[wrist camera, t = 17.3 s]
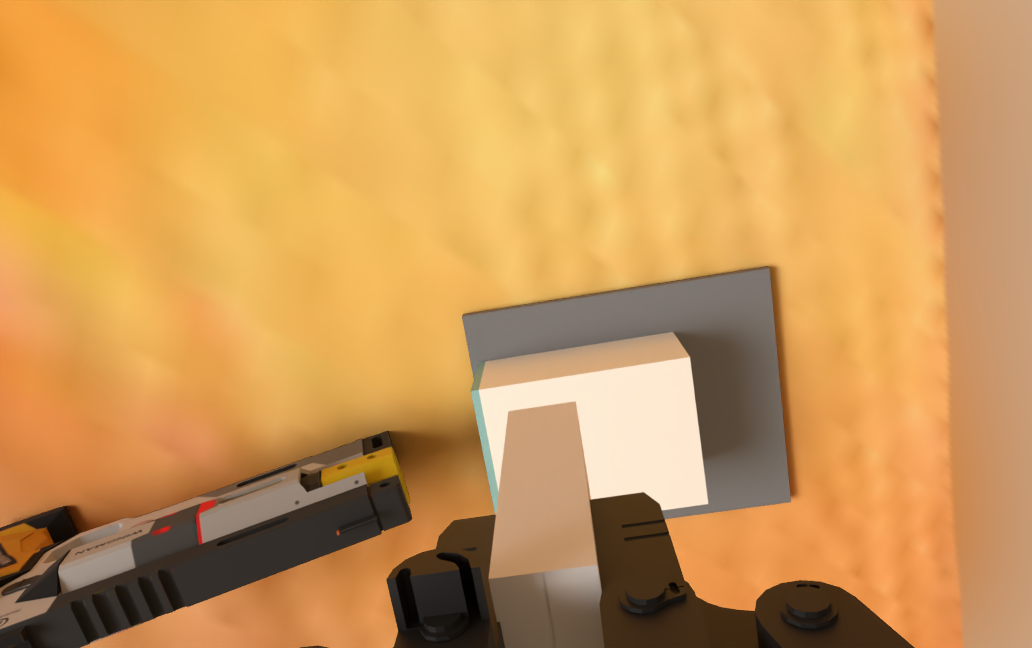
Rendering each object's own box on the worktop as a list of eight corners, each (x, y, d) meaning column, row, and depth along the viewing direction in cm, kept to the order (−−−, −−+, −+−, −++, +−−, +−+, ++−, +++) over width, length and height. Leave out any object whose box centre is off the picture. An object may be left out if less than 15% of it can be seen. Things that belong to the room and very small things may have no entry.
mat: (463, 314, 43) (462, 316, 43) (766, 266, 42) (769, 268, 42) (504, 535, 47) (504, 540, 46) (787, 497, 45) (790, 502, 45)
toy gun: (-40, 534, 46) (-211, 689, 32) (379, 390, 50) (395, 469, 36) (-9, 594, 47) (-162, 771, 33) (399, 448, 51) (423, 547, 37)
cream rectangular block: (672, 331, 43) (478, 362, 43) (690, 357, 38) (470, 391, 39) (690, 463, 44) (503, 490, 45) (708, 503, 40) (498, 533, 40)
